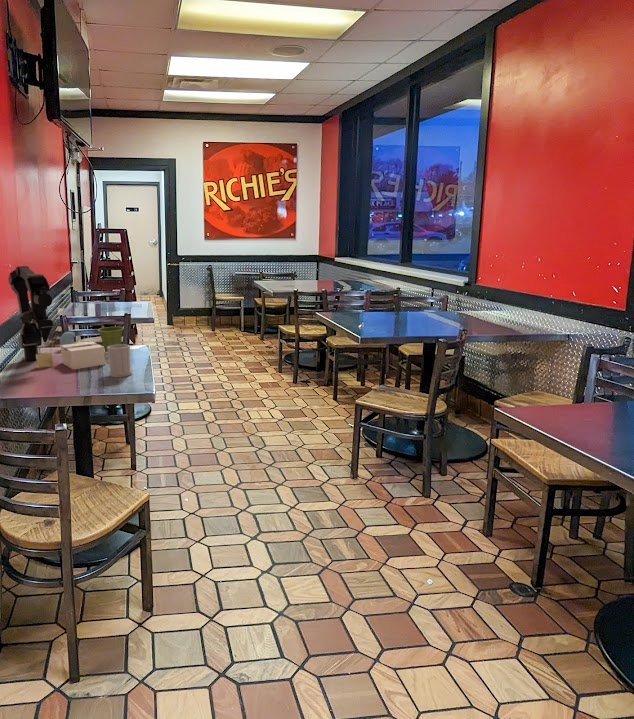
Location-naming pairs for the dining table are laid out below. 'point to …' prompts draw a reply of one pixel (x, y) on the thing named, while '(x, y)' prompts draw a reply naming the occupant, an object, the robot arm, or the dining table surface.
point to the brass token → (44, 360)
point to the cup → (118, 360)
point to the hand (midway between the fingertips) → (42, 340)
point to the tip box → (82, 355)
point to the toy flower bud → (67, 338)
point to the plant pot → (110, 336)
